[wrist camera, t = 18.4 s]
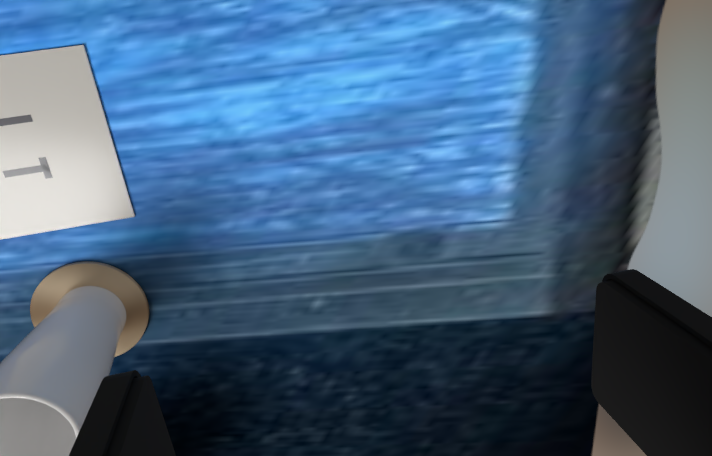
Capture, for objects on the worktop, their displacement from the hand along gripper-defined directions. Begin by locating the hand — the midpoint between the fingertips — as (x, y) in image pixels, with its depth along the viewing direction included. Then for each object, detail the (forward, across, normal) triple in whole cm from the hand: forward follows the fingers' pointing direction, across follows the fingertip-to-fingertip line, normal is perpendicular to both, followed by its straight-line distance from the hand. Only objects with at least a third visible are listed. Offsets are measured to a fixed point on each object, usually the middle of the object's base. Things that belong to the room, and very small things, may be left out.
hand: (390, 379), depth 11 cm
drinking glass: (+33, +19, +13) cm, 40 cm away
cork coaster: (+33, +19, +13) cm, 40 cm away
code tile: (+33, +20, -1) cm, 39 cm away
